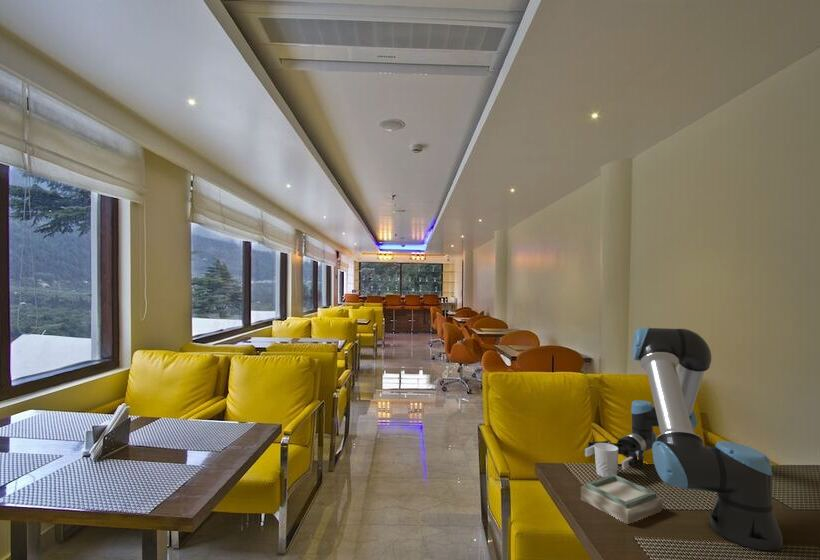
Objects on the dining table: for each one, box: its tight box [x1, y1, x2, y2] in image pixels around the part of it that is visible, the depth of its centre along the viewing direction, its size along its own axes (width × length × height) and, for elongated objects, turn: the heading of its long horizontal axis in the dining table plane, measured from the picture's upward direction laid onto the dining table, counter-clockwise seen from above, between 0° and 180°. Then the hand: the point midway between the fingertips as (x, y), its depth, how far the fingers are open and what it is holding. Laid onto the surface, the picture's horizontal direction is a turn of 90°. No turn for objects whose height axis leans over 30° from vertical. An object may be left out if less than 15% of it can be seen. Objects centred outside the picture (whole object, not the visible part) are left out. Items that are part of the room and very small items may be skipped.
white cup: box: [594, 443, 619, 478], centre depth 145 cm, size 8×8×10 cm
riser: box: [580, 474, 663, 525], centre depth 124 cm, size 16×16×5 cm
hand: (603, 458), depth 144 cm, fingers open, 13 cm apart
